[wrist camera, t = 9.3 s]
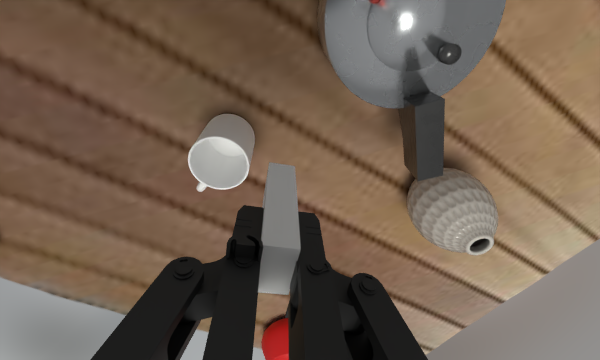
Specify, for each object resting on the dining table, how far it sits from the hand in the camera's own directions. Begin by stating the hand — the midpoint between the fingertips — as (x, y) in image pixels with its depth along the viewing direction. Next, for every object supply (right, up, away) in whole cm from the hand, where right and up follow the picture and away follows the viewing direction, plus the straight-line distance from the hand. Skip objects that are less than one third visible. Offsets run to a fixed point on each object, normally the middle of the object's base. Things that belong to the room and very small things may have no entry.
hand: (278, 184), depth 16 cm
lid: (+14, +16, +15) cm, 26 cm away
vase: (+26, 0, +38) cm, 46 cm away
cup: (-12, +6, +31) cm, 34 cm away
